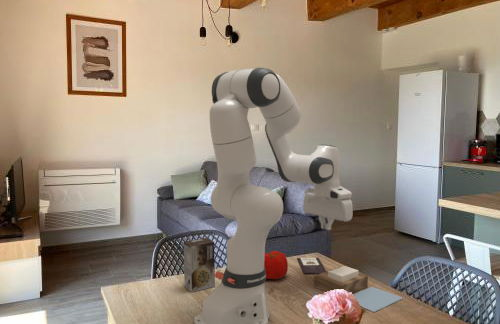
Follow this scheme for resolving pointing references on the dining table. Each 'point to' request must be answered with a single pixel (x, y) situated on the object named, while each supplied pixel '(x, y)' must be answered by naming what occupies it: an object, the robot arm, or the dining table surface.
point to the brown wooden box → (340, 283)
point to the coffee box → (199, 264)
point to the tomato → (275, 265)
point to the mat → (375, 299)
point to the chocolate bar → (311, 265)
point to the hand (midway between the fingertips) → (326, 229)
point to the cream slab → (343, 273)
